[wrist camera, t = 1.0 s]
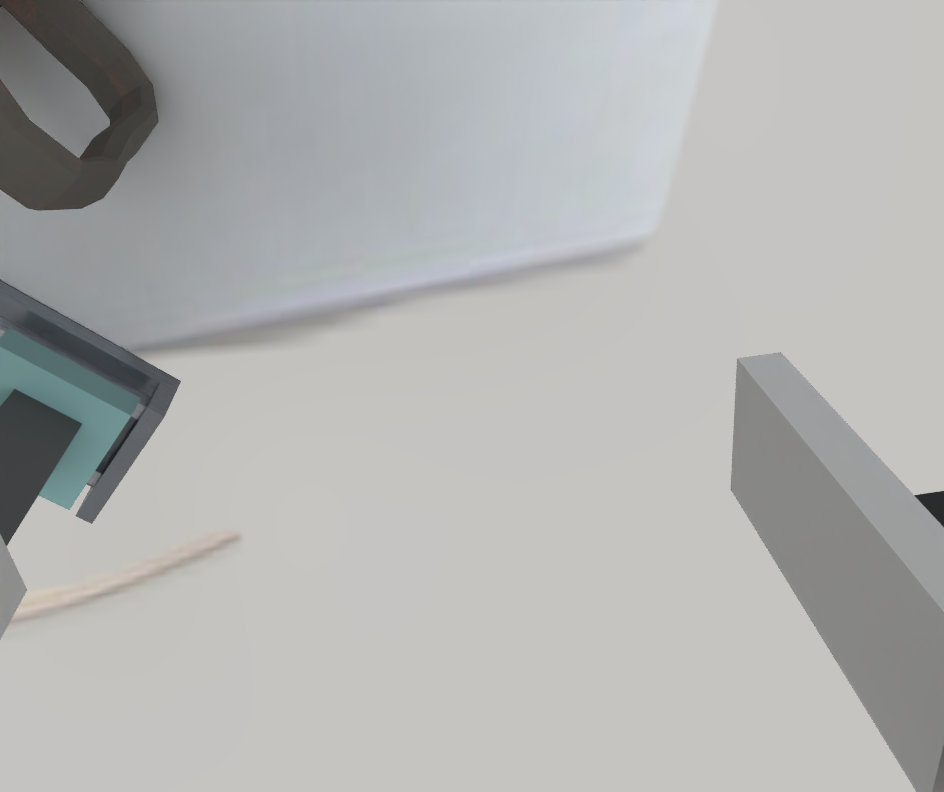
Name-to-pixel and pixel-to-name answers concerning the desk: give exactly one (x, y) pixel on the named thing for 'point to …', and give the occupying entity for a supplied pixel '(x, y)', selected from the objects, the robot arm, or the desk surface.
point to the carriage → (51, 426)
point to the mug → (113, 86)
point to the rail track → (108, 361)
